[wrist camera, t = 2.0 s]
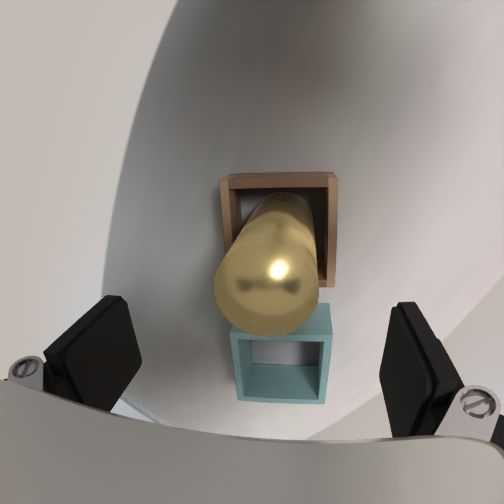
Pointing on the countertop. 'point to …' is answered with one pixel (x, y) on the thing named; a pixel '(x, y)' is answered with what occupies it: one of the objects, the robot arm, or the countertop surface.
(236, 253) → the gold domed peg
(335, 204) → the socket block
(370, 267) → the countertop surface
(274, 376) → the block
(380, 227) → the countertop surface
